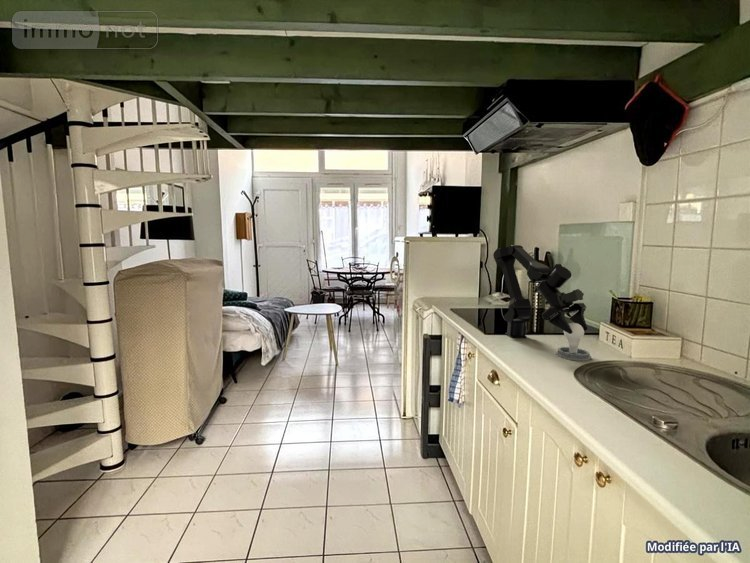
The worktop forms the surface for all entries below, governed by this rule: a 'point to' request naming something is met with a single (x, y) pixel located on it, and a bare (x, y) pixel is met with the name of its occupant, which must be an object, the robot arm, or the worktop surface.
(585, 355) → the bulb dish
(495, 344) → the worktop surface
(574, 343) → the lightbulb
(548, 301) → the robot arm
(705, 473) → the worktop surface
